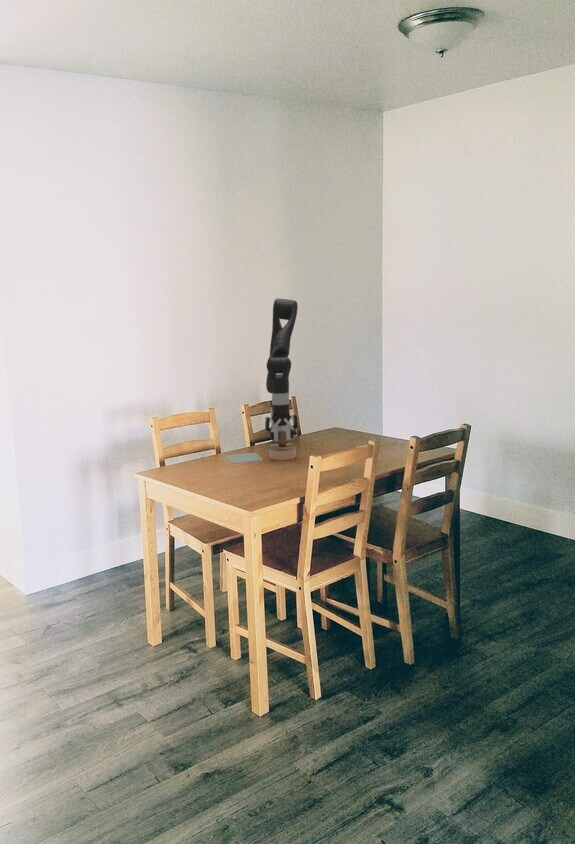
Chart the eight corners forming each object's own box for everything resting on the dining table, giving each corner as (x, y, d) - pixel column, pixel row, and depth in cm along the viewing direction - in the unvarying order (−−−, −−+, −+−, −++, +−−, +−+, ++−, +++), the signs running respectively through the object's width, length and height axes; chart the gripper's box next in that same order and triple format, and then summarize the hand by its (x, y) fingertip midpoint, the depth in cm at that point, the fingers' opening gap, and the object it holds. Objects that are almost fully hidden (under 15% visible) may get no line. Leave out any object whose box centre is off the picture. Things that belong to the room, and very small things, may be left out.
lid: (266, 446, 319) (265, 430, 318) (291, 443, 322) (291, 428, 321) (272, 451, 308) (272, 435, 307) (299, 449, 311) (298, 433, 310)
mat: (225, 456, 324) (225, 455, 324) (255, 453, 328) (255, 452, 328) (232, 464, 309) (232, 463, 309) (263, 461, 313) (263, 459, 313)
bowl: (267, 457, 320) (267, 446, 319) (291, 454, 323) (291, 444, 322) (273, 462, 309) (273, 451, 308) (298, 460, 312) (298, 449, 311)
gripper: (293, 400, 317) (295, 436, 320) (262, 403, 313) (264, 439, 316) (298, 402, 310) (300, 439, 313) (266, 405, 306) (268, 442, 309)
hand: (282, 439), depth 315 cm, fingers open, 8 cm apart
